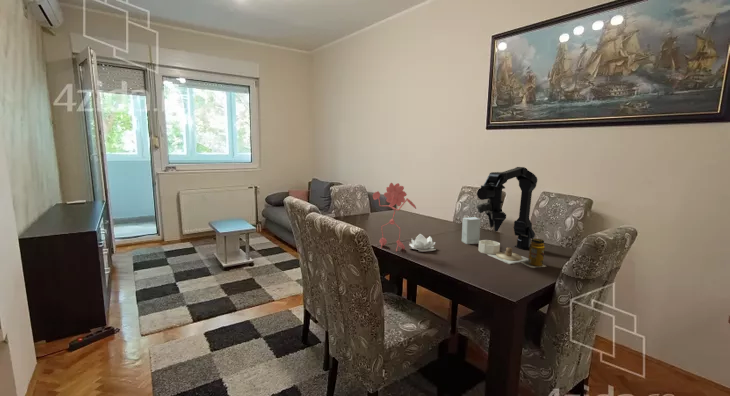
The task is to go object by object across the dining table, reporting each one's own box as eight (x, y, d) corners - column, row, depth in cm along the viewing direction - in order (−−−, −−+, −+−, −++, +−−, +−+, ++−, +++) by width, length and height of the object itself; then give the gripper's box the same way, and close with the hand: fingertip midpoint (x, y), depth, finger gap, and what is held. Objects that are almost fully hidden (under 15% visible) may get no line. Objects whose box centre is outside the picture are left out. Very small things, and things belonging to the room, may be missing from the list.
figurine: (410, 256, 164) (412, 185, 159) (366, 247, 178) (367, 182, 173) (422, 248, 177) (425, 183, 172) (380, 241, 191) (382, 180, 186)
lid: (507, 252, 172) (508, 243, 171) (526, 258, 161) (527, 250, 161) (490, 254, 167) (491, 246, 166) (509, 261, 156) (510, 252, 156)
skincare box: (474, 242, 192) (475, 216, 190) (479, 244, 186) (481, 218, 184) (460, 242, 190) (462, 217, 188) (466, 245, 184) (467, 219, 182)
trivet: (507, 252, 173) (507, 251, 173) (530, 260, 161) (530, 259, 161) (487, 255, 167) (487, 254, 167) (509, 264, 155) (509, 263, 155)
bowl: (488, 248, 180) (489, 239, 179) (503, 253, 171) (504, 244, 170) (474, 250, 176) (474, 241, 175) (488, 256, 166) (489, 246, 166)
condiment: (547, 266, 153) (549, 241, 151) (532, 268, 150) (534, 242, 149) (535, 261, 160) (537, 237, 158) (520, 262, 157) (522, 238, 156)
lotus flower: (436, 247, 180) (437, 231, 179) (435, 256, 166) (436, 239, 165) (409, 245, 184) (410, 230, 182) (406, 253, 169) (407, 236, 168)
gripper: (474, 195, 174) (473, 224, 176) (482, 200, 155) (480, 233, 158) (497, 195, 172) (495, 225, 174) (507, 201, 154) (505, 234, 156)
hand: (493, 229), depth 166 cm, fingers open, 9 cm apart
